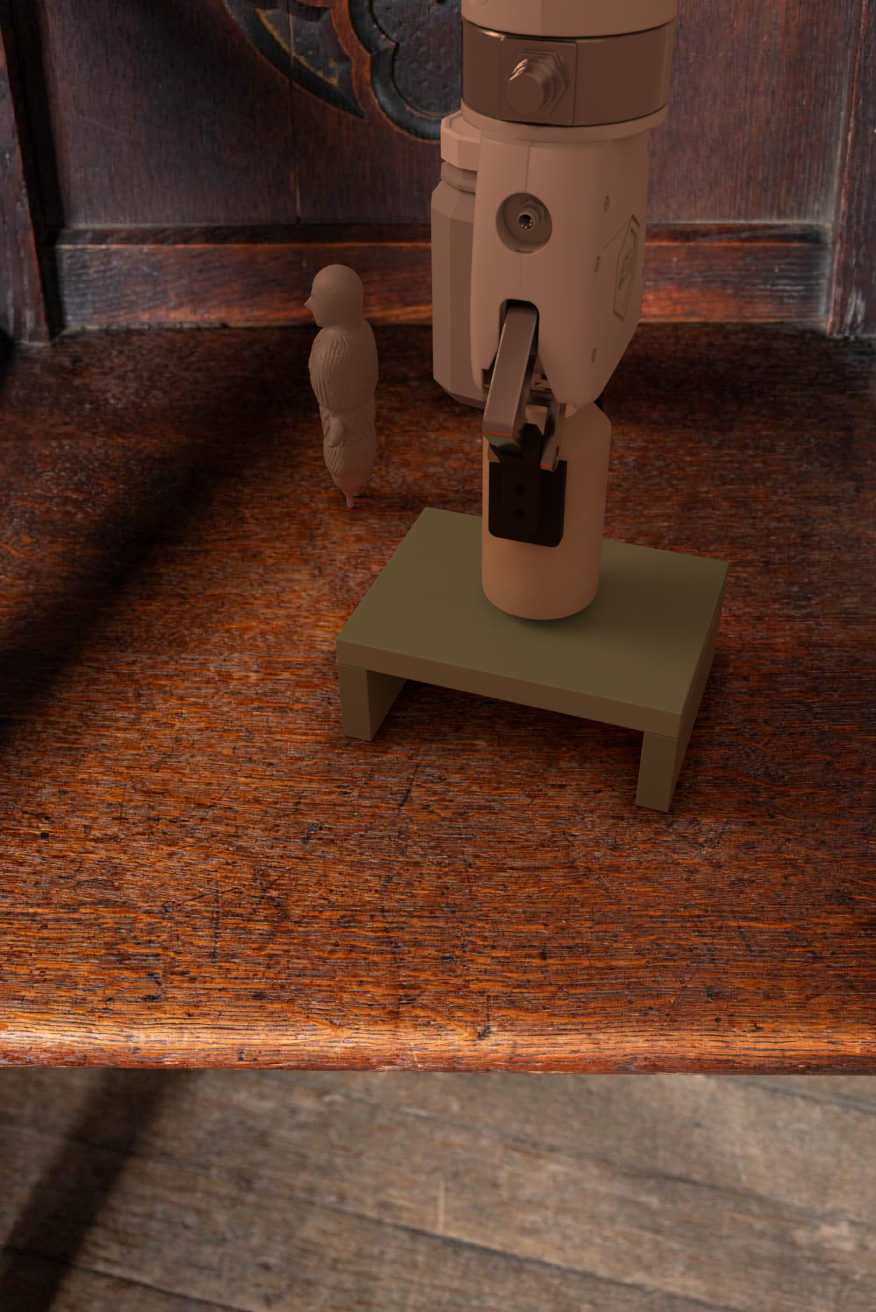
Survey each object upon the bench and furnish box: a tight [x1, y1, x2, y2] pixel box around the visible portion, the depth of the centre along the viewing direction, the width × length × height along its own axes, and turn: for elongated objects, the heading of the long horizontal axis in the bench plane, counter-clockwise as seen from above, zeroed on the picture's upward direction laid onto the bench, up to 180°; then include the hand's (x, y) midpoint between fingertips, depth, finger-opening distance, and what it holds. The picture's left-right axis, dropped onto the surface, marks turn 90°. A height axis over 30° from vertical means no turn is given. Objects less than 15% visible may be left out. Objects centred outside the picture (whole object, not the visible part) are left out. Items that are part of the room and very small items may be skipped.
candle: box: [481, 381, 612, 620], centre depth 56 cm, size 6×6×10 cm
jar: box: [430, 109, 546, 411], centre depth 84 cm, size 10×10×18 cm
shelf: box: [335, 506, 730, 813], centre depth 62 cm, size 16×12×6 cm
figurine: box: [303, 263, 379, 509], centre depth 73 cm, size 9×4×15 cm, turn 168°
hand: (545, 498), depth 56 cm, fingers closed on candle, 5 cm apart
